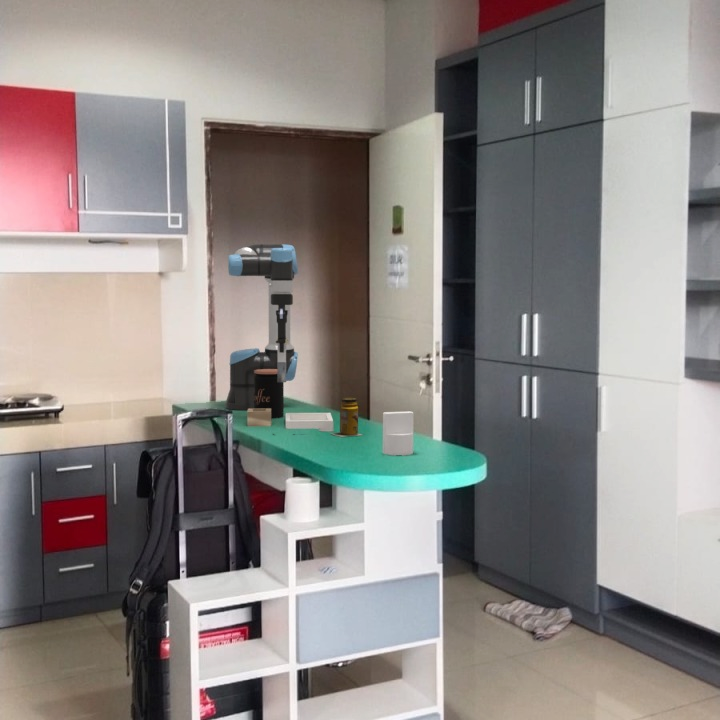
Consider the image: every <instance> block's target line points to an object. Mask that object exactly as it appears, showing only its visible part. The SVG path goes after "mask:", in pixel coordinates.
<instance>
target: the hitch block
mask: <svg viewBox="0 0 720 720" xmlns="http://www.w3.org/2000/svg"><path fill="white" fill-rule="evenodd" d="M246 411H247V413H246V415H247V417H246V419H247V422H246V423H247V425H246V426H247V427H271V426H272V419H271V408H257V409H248V410H246Z"/></svg>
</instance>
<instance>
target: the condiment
mask: <svg viewBox="0 0 720 720" xmlns="http://www.w3.org/2000/svg"><path fill="white" fill-rule="evenodd" d="M340 401H341V403H340V406H339V432H330V435H333V436H336V437H340V438H343V437H356V436H363V434H362V433H359V407H358V399H357V397H356V398H355V397H343V398H341V399H340Z"/></svg>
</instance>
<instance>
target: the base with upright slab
mask: <svg viewBox="0 0 720 720" xmlns="http://www.w3.org/2000/svg"><path fill="white" fill-rule="evenodd" d="M382 454H384V455H387V456H396V455H402V456H410V455H413V454H414V412H413V411H411V410H410V411H409V410H408V411H386V412H385V411H384V412H383V413H382Z"/></svg>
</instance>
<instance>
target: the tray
mask: <svg viewBox="0 0 720 720" xmlns="http://www.w3.org/2000/svg"><path fill="white" fill-rule="evenodd" d="M284 413H285V415H284V416H285V429H286V430H288V429H289V430H297V429H298V430H299V429H301V430H302V429H306V430H307V429H311V430H313V429H317V430H318V431H319V432H334V419H333V416H332V413H331V412H284Z"/></svg>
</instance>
